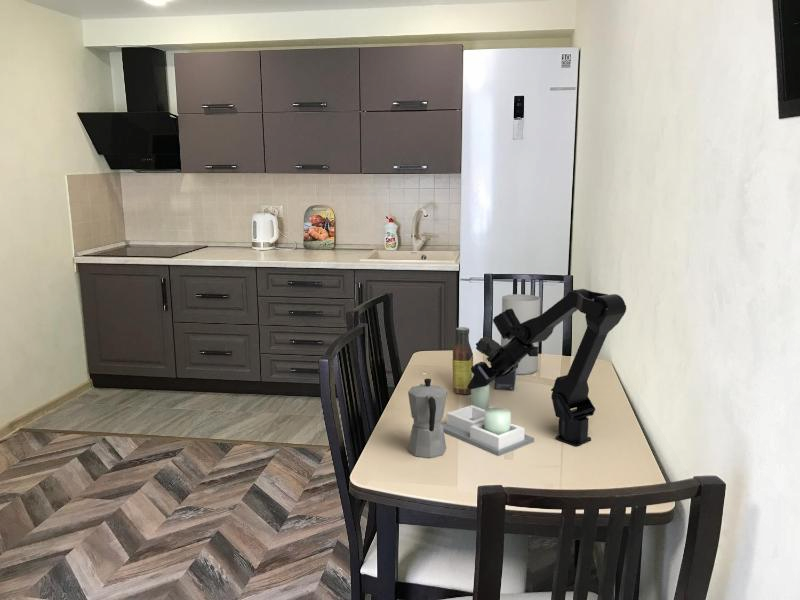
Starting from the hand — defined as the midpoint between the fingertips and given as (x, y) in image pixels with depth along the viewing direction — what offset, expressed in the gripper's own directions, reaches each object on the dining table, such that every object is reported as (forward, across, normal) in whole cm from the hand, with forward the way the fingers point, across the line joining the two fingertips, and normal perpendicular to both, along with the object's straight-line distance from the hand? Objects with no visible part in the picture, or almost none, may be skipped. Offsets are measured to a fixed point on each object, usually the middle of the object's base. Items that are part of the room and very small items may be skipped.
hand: (476, 384), depth 185 cm
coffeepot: (+1, +34, +9) cm, 35 cm away
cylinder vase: (+9, -40, +1) cm, 41 cm away
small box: (+6, -23, +4) cm, 24 cm away
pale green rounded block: (+4, 0, +6) cm, 7 cm away
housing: (-4, +17, +13) cm, 22 cm away
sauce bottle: (+12, -9, -2) cm, 15 cm away
